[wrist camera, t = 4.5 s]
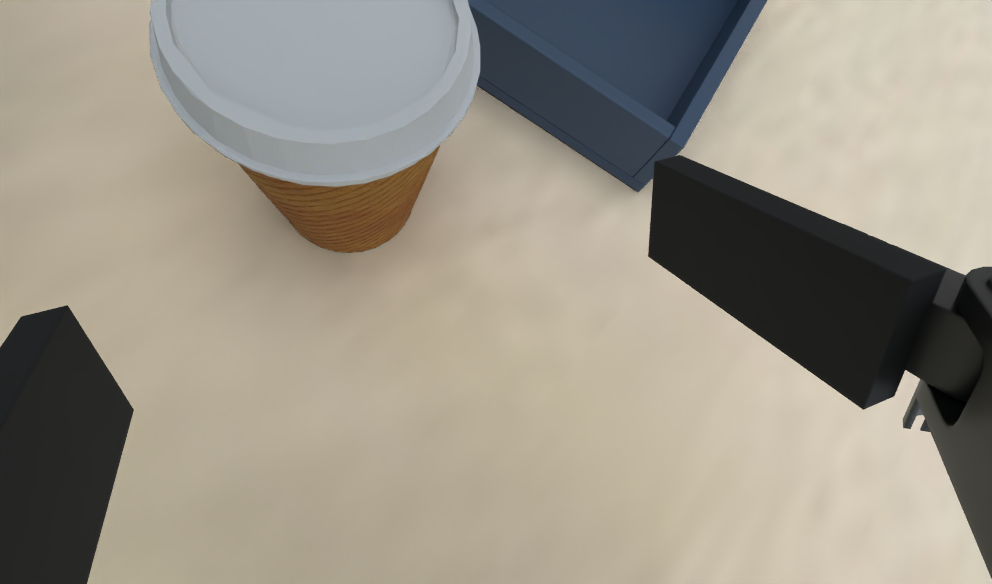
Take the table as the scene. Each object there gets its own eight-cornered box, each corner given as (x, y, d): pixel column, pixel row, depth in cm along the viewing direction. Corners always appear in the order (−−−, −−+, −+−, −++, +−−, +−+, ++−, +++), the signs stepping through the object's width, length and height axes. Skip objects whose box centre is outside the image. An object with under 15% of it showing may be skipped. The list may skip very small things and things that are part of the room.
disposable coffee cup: (203, 167, 25) (53, -54, 14) (371, 76, 28) (360, -167, 17) (323, 326, 25) (267, 229, 13) (483, 215, 27) (551, 58, 16)
